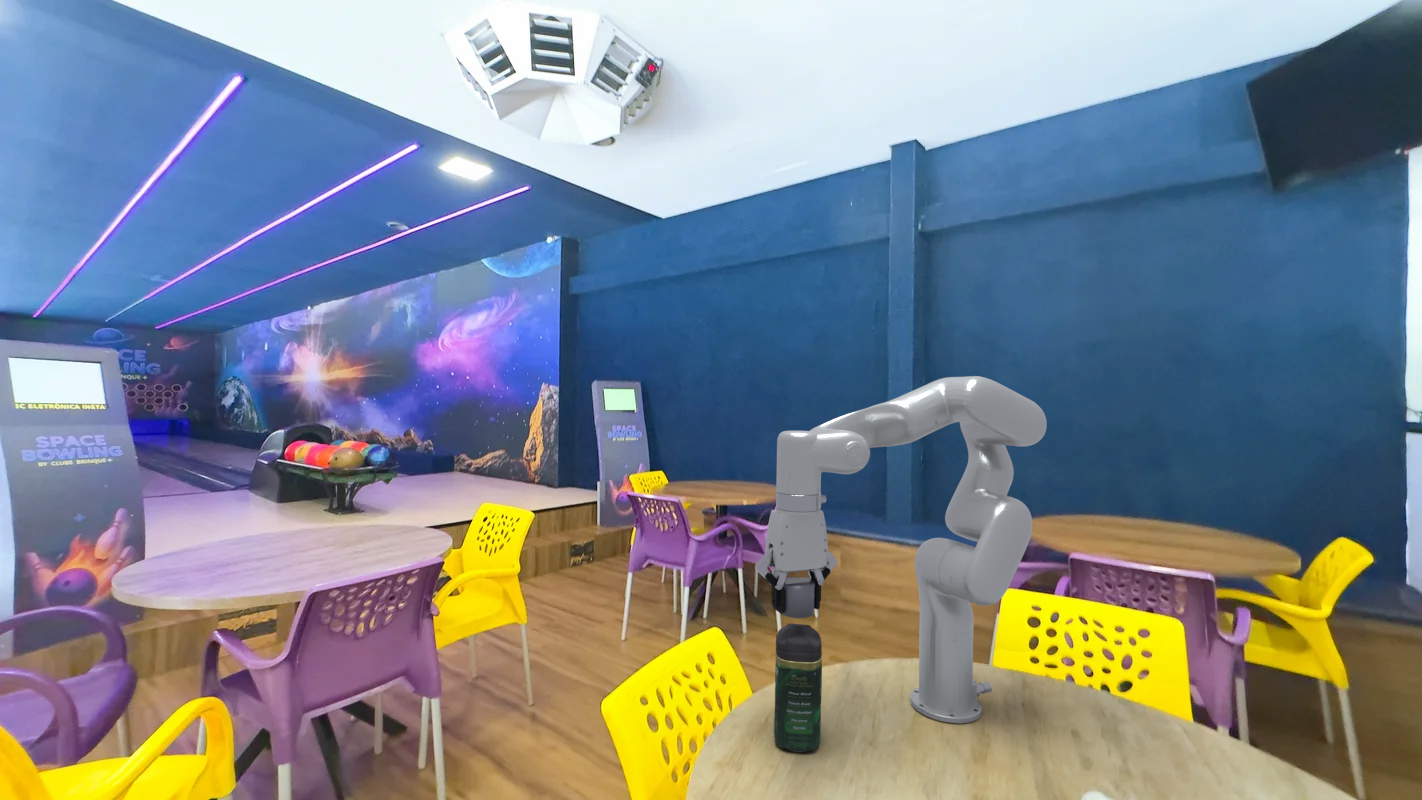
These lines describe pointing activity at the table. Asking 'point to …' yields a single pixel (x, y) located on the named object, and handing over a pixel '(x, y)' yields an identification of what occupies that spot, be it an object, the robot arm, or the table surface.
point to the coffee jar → (798, 688)
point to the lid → (799, 597)
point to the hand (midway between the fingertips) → (796, 607)
